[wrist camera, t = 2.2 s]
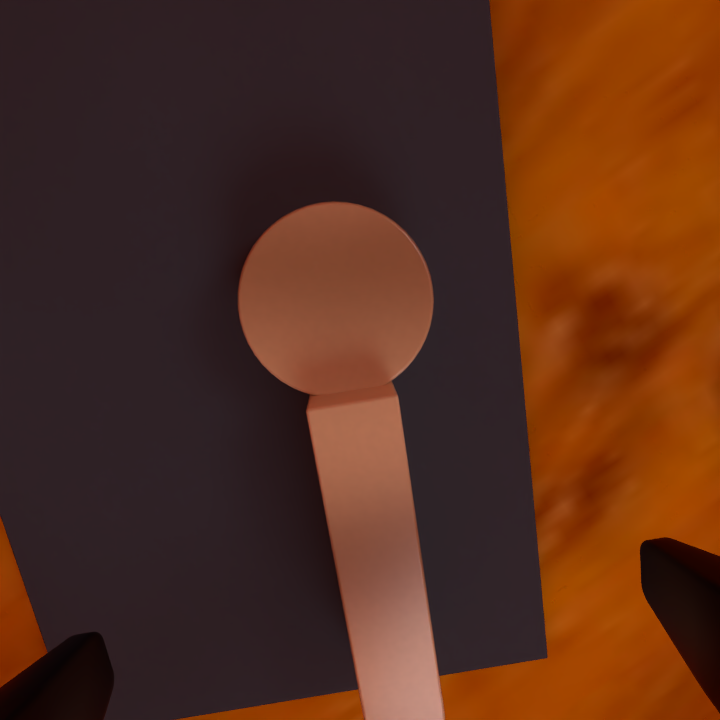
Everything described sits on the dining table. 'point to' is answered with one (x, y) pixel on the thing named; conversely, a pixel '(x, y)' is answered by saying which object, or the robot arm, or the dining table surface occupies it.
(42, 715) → the robot arm
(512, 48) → the dining table surface
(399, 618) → the wooden spoon
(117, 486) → the placemat
